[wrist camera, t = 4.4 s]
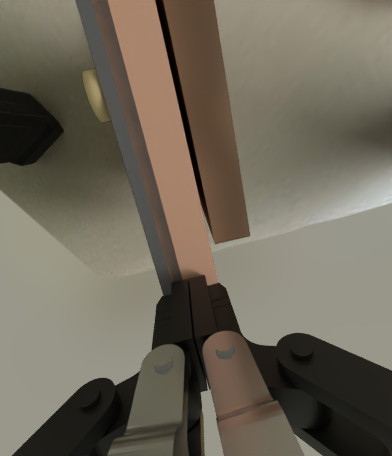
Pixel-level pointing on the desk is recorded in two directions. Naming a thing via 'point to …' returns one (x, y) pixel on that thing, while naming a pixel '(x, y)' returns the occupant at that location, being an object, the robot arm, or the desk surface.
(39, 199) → the desk surface
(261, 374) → the robot arm
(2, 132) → the portable radio
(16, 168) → the desk surface
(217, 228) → the frame stand
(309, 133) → the desk surface
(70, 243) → the desk surface
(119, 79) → the picture frame
